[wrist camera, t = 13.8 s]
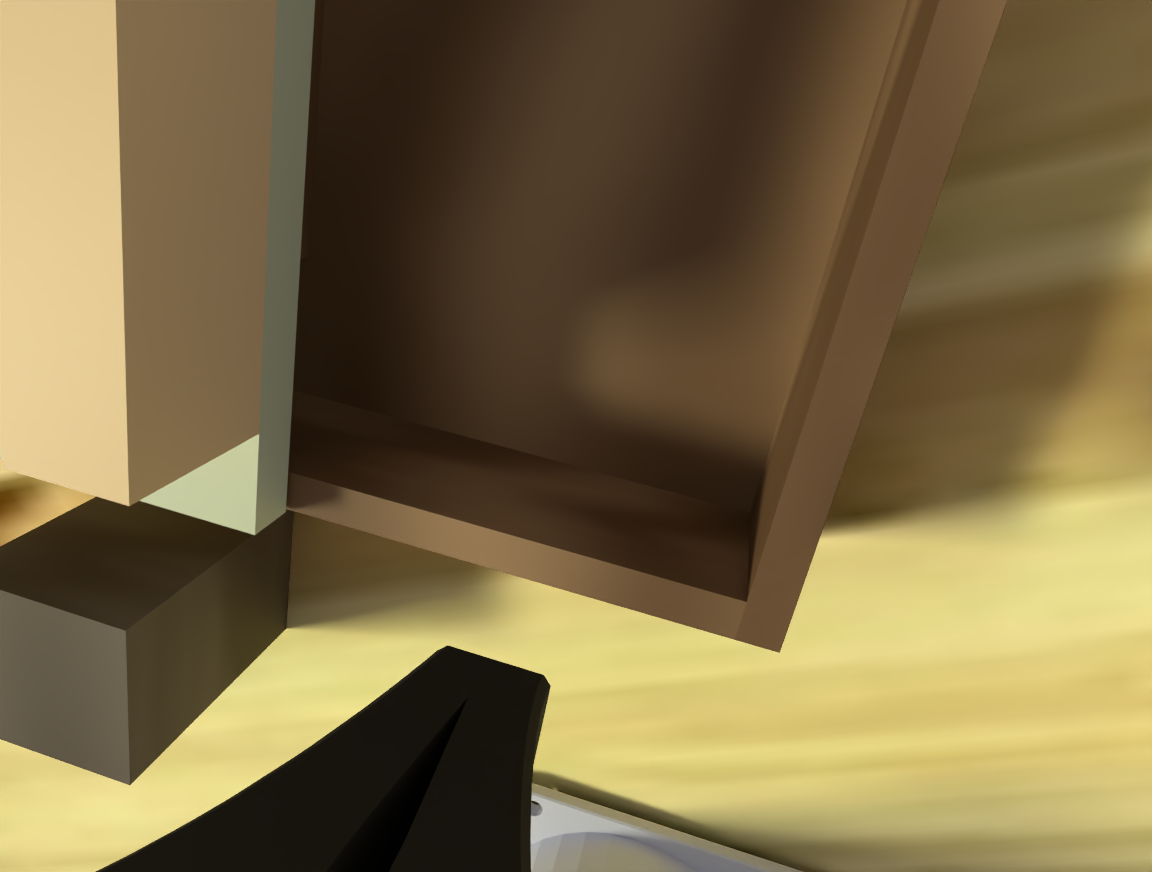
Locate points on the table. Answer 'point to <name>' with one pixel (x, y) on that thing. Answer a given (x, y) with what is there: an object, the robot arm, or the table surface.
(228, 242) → the lid
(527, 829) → the robot arm
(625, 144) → the brown wooden box
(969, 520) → the table surface
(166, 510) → the dark brown block
